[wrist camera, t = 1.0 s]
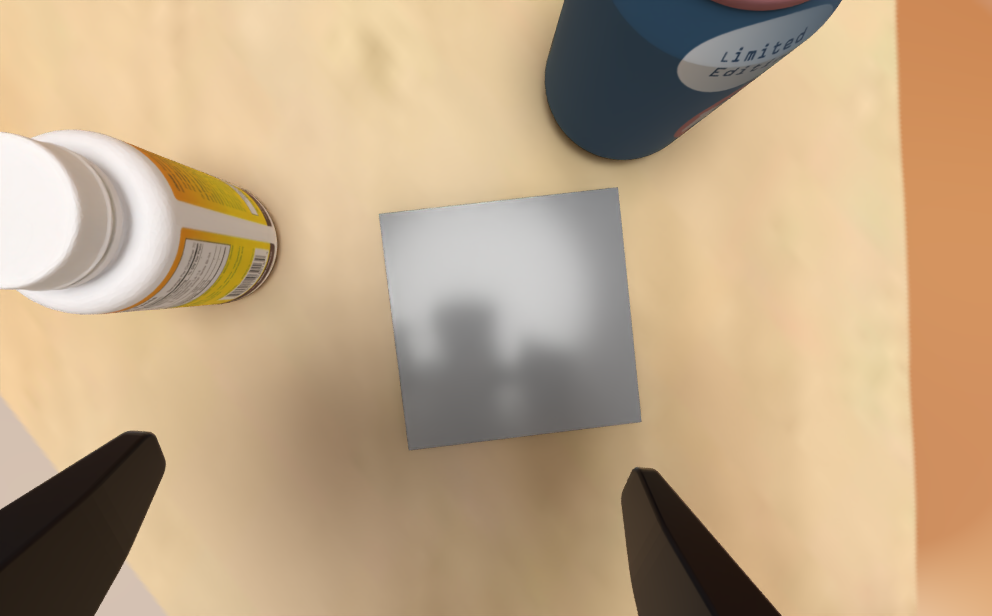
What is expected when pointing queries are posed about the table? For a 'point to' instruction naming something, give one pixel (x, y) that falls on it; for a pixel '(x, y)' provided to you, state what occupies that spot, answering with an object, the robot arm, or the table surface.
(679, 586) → the robot arm
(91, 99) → the table surface
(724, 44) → the soda can
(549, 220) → the coaster
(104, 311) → the supplement bottle
